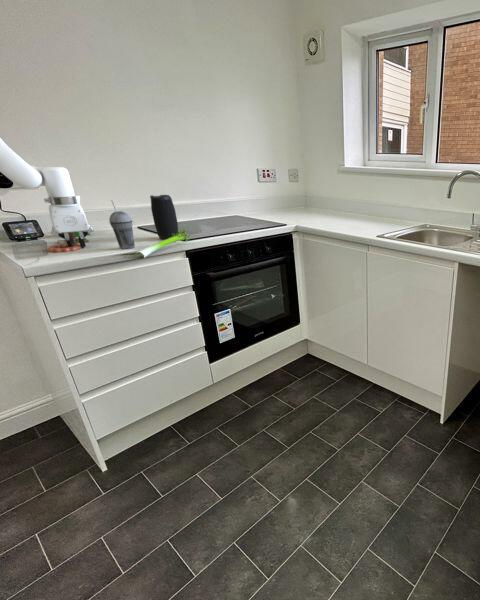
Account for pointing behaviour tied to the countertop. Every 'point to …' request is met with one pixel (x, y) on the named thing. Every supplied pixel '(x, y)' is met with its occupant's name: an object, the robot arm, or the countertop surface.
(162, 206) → the portable speaker
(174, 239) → the leek
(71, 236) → the peg stand
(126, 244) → the beverage cup
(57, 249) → the ring
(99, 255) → the countertop surface
